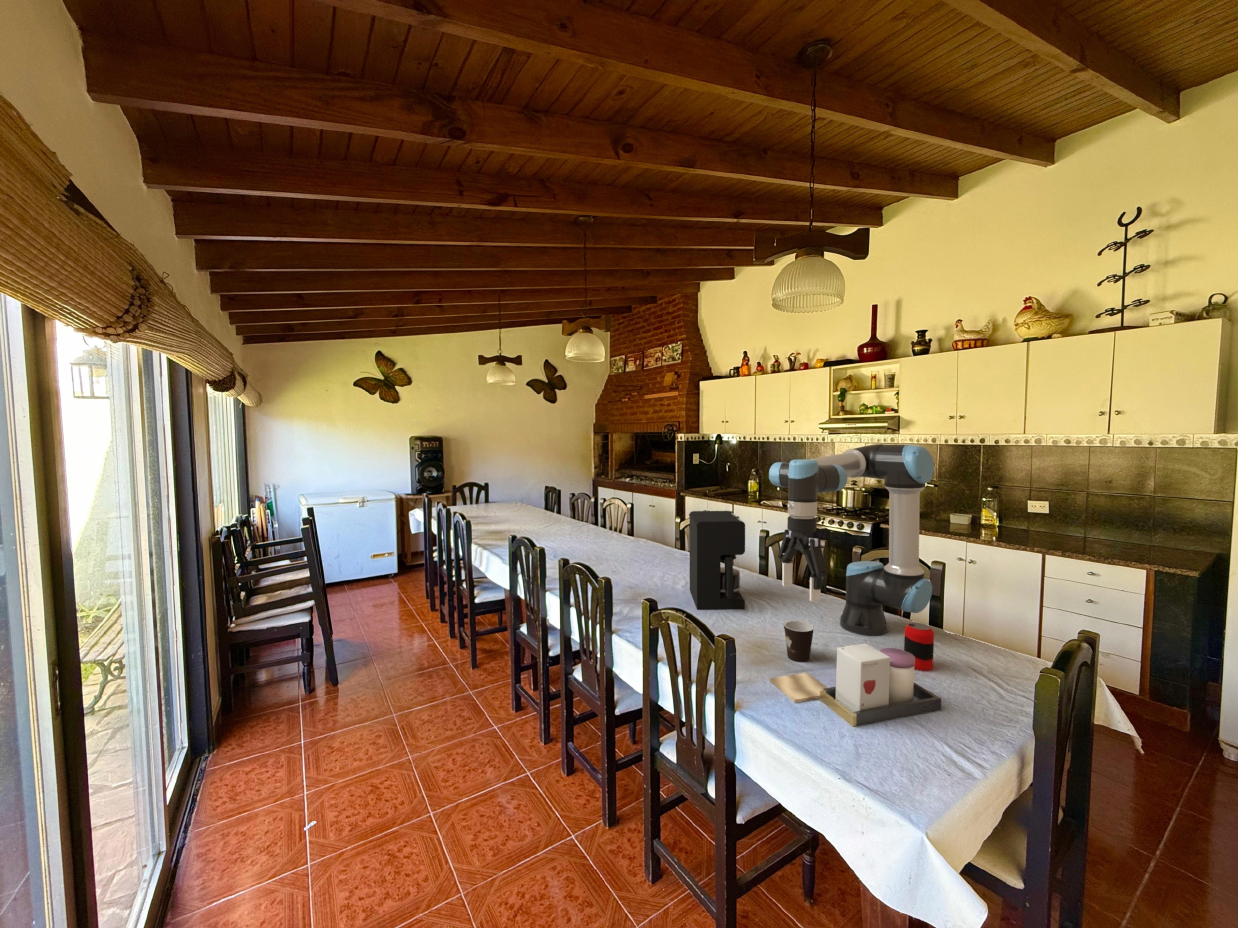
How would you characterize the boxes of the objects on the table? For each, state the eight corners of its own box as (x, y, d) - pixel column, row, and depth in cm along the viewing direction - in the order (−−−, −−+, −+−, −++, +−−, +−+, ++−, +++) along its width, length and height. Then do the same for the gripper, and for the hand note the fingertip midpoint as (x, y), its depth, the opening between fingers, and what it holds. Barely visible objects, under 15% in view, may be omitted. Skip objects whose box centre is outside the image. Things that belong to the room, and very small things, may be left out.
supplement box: (859, 721, 128) (860, 661, 126) (834, 702, 136) (835, 646, 135) (889, 715, 130) (891, 656, 129) (863, 697, 139) (865, 642, 138)
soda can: (903, 657, 161) (904, 619, 160) (931, 662, 158) (933, 623, 157) (904, 668, 155) (905, 628, 154) (934, 673, 151) (935, 632, 150)
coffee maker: (749, 613, 200) (749, 522, 198) (697, 613, 201) (697, 522, 198) (733, 589, 228) (734, 510, 226) (688, 590, 229) (688, 510, 226)
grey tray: (902, 685, 144) (902, 675, 144) (940, 709, 132) (941, 698, 132) (819, 700, 138) (820, 689, 137) (852, 726, 126) (853, 714, 125)
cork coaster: (807, 675, 151) (807, 672, 151) (834, 695, 140) (834, 692, 140) (769, 680, 148) (769, 678, 148) (794, 702, 136) (794, 699, 136)
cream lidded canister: (896, 691, 141) (897, 646, 140) (921, 707, 133) (922, 659, 132) (870, 696, 139) (871, 650, 138) (894, 712, 131) (895, 663, 130)
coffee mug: (815, 664, 157) (815, 632, 157) (785, 662, 159) (785, 630, 158) (809, 648, 169) (809, 618, 168) (781, 646, 171) (781, 616, 170)
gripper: (766, 509, 155) (765, 580, 156) (816, 525, 130) (814, 609, 132) (789, 508, 156) (788, 578, 158) (843, 524, 132) (841, 606, 134)
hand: (800, 592), depth 145 cm, fingers open, 13 cm apart
